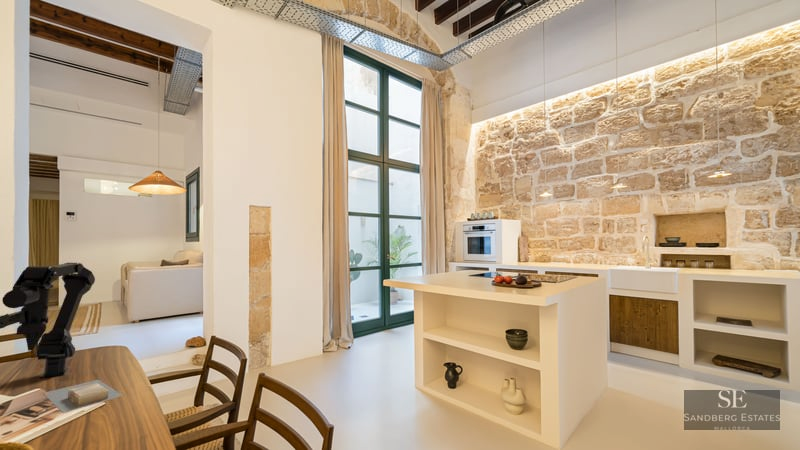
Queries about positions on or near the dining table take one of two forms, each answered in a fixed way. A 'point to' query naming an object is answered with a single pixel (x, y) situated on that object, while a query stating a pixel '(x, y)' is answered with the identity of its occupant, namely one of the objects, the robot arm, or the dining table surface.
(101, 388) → the oak slab
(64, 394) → the rubber mat
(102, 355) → the dining table surface
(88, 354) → the dining table surface
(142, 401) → the dining table surface
